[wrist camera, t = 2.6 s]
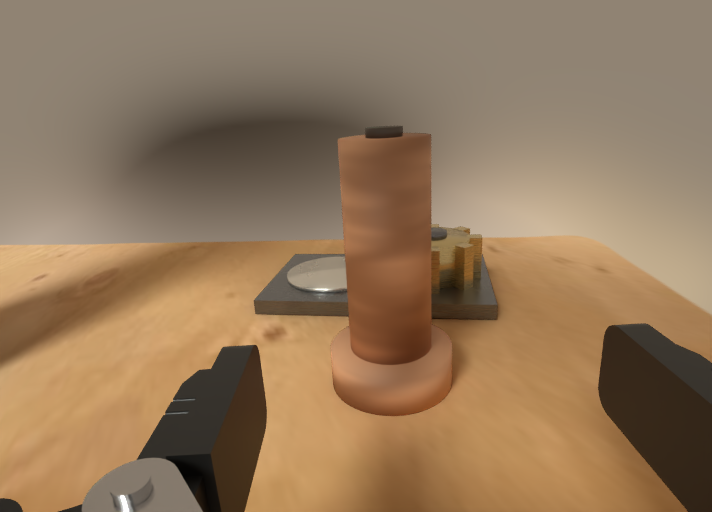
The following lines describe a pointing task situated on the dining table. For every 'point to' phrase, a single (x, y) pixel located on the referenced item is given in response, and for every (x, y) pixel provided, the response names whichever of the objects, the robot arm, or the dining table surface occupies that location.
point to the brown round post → (389, 277)
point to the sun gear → (454, 258)
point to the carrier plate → (329, 295)
